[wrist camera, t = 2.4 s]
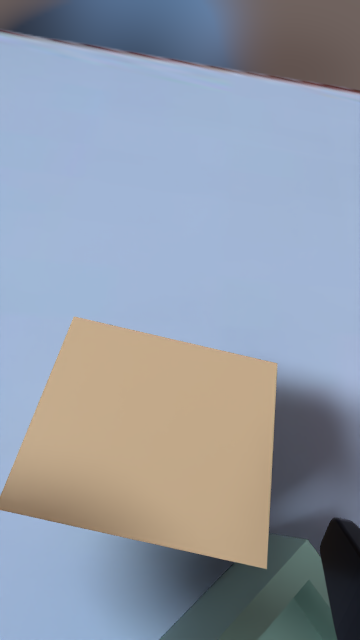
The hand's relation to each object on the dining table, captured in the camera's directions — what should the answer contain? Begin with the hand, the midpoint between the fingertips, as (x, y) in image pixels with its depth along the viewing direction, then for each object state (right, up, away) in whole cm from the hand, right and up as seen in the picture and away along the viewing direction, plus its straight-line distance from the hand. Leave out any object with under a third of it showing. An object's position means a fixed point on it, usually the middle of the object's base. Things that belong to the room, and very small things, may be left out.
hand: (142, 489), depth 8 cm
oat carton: (-1, -3, +9) cm, 9 cm away
